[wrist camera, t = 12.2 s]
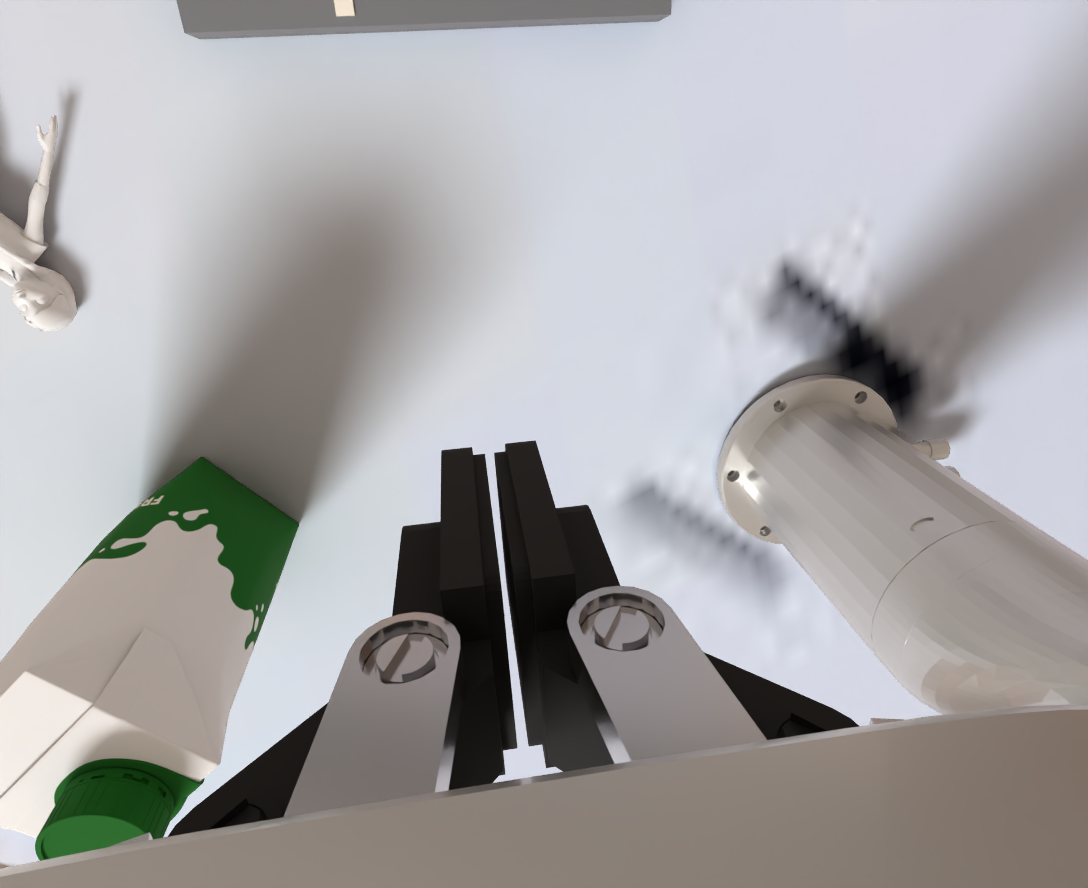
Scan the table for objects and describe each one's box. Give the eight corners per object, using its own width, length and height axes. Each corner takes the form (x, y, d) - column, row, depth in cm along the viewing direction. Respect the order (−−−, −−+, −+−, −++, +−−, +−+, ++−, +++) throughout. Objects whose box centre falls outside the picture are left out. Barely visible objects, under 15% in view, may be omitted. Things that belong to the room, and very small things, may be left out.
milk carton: (236, 604, 43) (88, 931, 25) (109, 528, 40) (-167, 847, 22) (321, 521, 42) (226, 811, 24) (196, 434, 38) (-27, 697, 20)
